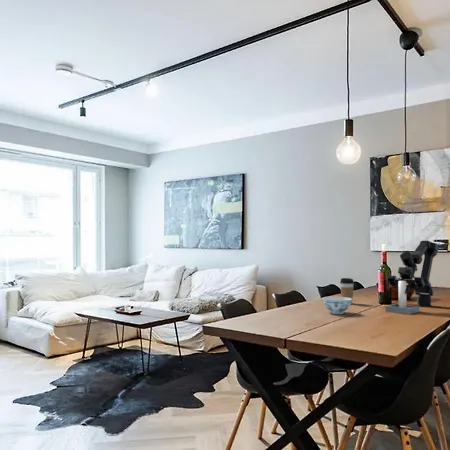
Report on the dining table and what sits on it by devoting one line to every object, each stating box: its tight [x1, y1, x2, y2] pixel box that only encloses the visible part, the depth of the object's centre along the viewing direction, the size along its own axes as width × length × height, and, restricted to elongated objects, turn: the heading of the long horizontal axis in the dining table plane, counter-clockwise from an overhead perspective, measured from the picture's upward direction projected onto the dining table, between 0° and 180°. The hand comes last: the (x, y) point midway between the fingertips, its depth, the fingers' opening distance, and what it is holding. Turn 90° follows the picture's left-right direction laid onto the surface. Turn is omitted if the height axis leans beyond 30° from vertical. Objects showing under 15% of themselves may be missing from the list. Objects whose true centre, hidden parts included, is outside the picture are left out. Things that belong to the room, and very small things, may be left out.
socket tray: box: [385, 303, 420, 315], centre depth 243 cm, size 13×13×3 cm
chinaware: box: [322, 296, 353, 315], centre depth 238 cm, size 15×15×8 cm
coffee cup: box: [339, 277, 355, 305], centre depth 273 cm, size 8×8×15 cm
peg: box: [397, 281, 408, 308], centre depth 243 cm, size 4×4×14 cm
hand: (401, 293), depth 242 cm, fingers closed on peg, 4 cm apart
